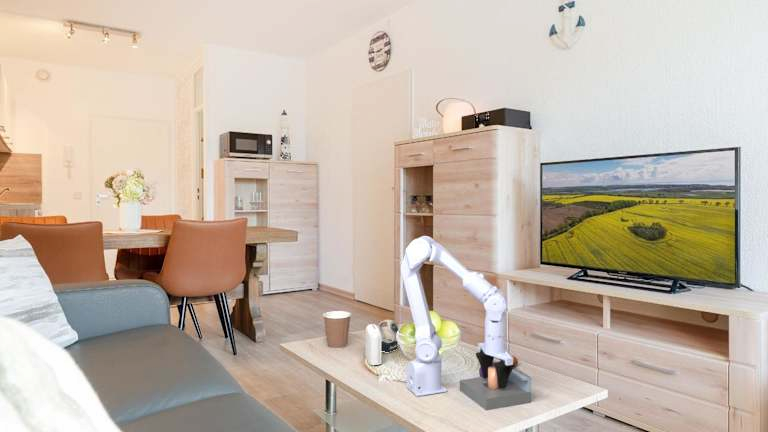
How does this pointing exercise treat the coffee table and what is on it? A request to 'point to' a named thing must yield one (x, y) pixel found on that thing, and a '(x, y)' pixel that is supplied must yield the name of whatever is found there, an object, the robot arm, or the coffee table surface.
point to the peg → (492, 378)
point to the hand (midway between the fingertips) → (494, 382)
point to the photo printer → (373, 344)
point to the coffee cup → (337, 328)
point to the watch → (386, 343)
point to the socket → (498, 391)
